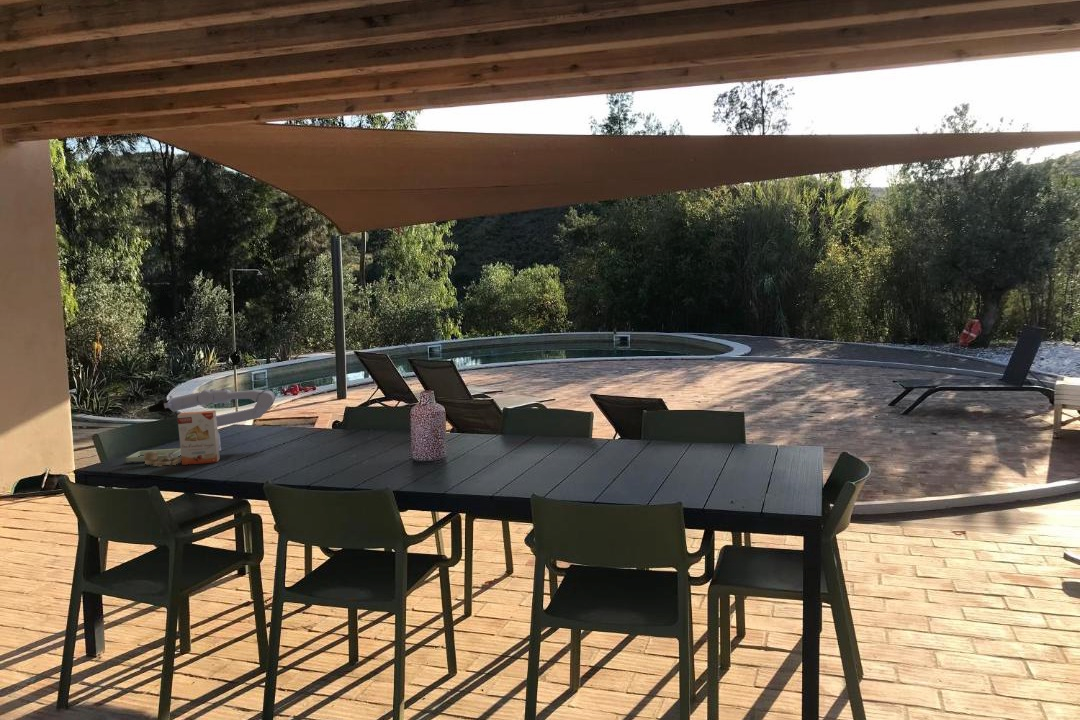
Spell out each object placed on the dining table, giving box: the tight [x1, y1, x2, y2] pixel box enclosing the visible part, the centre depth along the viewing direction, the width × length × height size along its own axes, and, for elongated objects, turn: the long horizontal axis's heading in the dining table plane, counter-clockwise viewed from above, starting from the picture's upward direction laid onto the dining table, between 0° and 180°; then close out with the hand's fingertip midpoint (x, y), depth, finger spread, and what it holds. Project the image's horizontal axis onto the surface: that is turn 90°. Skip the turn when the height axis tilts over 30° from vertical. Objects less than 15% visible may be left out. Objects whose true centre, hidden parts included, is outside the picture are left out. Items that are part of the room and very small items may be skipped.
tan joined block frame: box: [144, 452, 182, 467], centre depth 360 cm, size 14×9×5 cm, turn 92°
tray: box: [124, 447, 181, 463], centre depth 372 cm, size 19×14×2 cm
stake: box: [166, 451, 173, 463], centre depth 360 cm, size 2×4×5 cm, turn 3°
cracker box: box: [177, 410, 221, 466], centre depth 358 cm, size 14×6×21 cm, turn 99°
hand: (151, 409), depth 374 cm, fingers open, 7 cm apart
